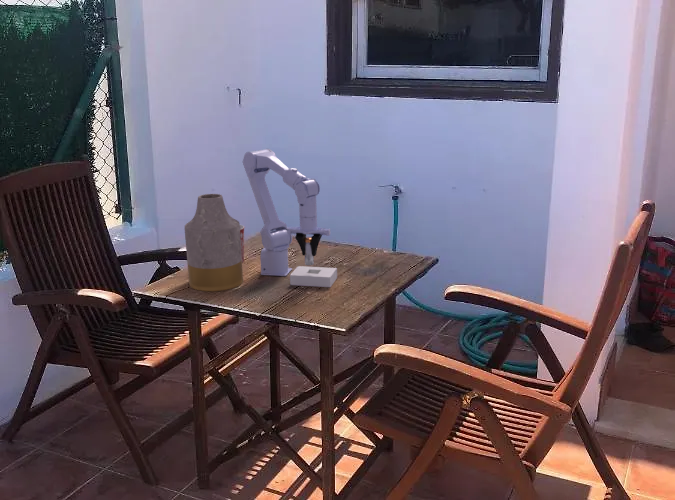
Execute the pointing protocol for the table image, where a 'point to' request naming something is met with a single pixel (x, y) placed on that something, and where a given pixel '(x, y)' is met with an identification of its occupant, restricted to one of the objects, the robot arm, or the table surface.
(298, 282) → the block
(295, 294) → the table surface
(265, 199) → the robot arm
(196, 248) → the vase
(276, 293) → the table surface
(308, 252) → the pin
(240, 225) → the mug
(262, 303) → the table surface
